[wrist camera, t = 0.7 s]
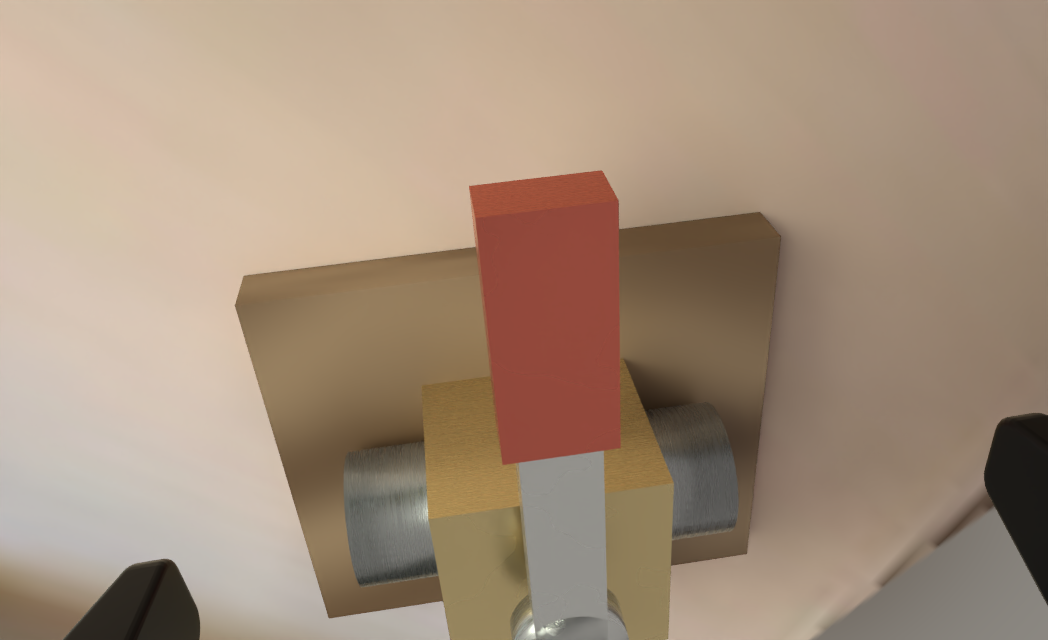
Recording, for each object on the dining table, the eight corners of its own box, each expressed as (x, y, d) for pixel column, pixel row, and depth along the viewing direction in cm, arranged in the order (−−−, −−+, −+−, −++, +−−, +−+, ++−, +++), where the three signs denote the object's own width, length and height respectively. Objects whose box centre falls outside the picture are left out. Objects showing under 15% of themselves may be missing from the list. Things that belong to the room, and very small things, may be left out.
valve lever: (619, 640, 21) (631, 685, 20) (513, 657, 20) (520, 703, 19) (614, 169, 14) (631, 198, 13) (456, 187, 14) (461, 219, 13)
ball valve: (692, 493, 27) (758, 648, 22) (374, 540, 26) (370, 711, 21) (700, 347, 24) (779, 490, 19) (340, 396, 23) (326, 558, 18)
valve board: (731, 521, 30) (746, 554, 28) (331, 581, 29) (328, 618, 27) (759, 211, 23) (780, 236, 22) (243, 275, 22) (234, 305, 21)
